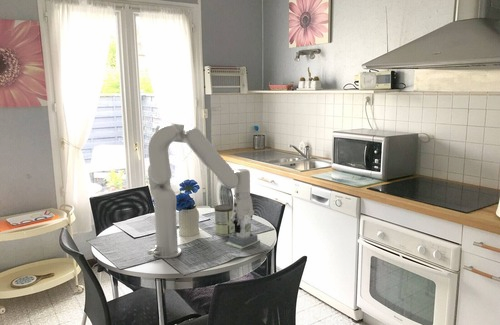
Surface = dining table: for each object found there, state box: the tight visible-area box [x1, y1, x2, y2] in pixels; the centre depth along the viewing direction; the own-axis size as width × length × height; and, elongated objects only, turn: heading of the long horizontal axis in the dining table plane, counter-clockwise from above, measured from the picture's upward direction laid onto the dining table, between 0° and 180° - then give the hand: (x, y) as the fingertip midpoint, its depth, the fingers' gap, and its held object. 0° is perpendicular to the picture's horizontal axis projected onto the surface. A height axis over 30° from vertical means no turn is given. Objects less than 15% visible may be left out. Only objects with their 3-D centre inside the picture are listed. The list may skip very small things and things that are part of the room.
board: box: [225, 238, 261, 250], centre depth 203 cm, size 14×10×1 cm
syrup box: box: [234, 214, 252, 239], centre depth 202 cm, size 6×6×14 cm
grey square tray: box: [228, 232, 259, 247], centre depth 203 cm, size 10×10×3 cm
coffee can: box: [213, 203, 235, 237], centre depth 216 cm, size 10×10×14 cm
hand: (242, 229), depth 202 cm, fingers open, 6 cm apart
